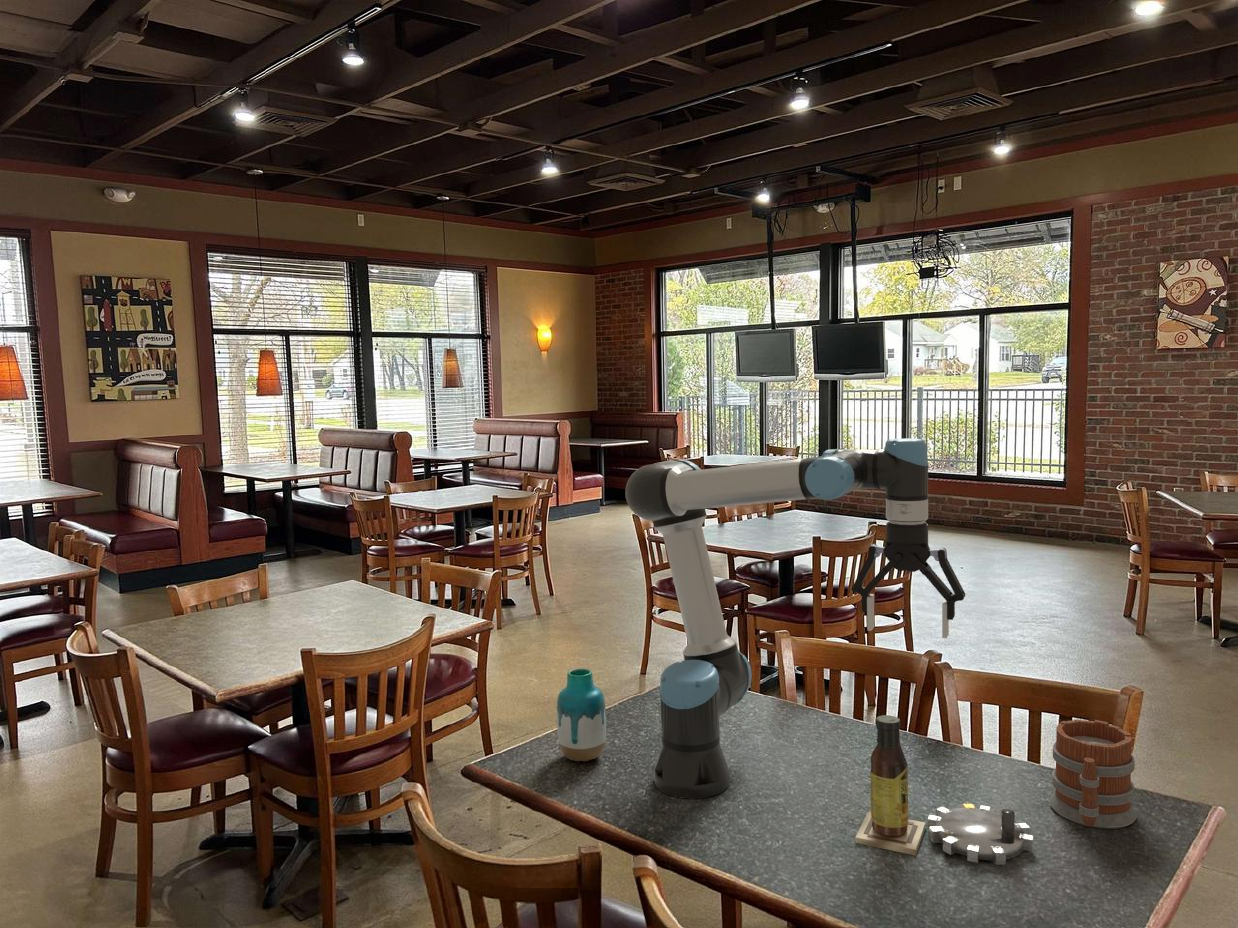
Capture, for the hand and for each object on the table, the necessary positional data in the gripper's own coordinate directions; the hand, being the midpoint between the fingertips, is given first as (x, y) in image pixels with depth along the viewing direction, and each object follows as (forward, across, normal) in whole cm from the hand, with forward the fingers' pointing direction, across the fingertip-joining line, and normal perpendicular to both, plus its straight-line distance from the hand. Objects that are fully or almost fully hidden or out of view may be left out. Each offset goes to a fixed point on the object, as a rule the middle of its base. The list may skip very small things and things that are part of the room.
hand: (907, 632), depth 166 cm
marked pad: (+32, 0, -17) cm, 36 cm away
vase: (+32, -66, -11) cm, 74 cm away
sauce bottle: (+31, 0, -17) cm, 35 cm away
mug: (+32, +31, +4) cm, 45 cm away
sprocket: (+32, +14, -13) cm, 37 cm away
